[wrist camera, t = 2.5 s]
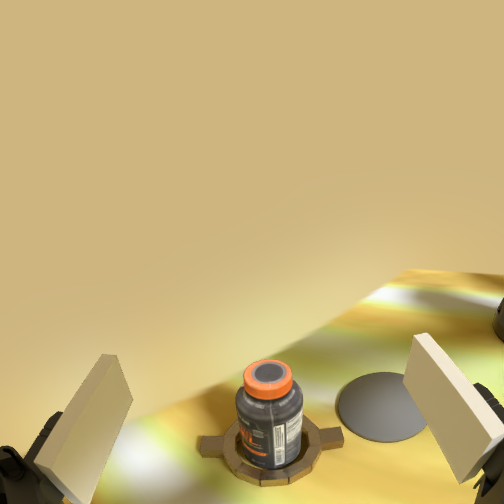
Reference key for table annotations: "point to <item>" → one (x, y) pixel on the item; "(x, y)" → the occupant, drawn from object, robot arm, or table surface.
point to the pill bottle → (270, 414)
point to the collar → (228, 448)
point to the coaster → (380, 408)
